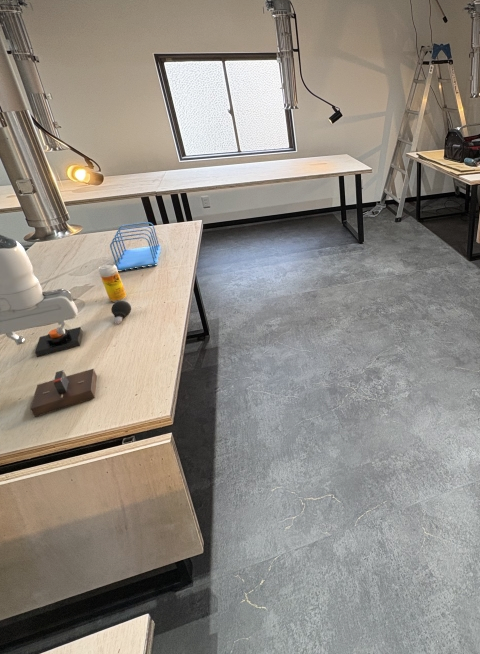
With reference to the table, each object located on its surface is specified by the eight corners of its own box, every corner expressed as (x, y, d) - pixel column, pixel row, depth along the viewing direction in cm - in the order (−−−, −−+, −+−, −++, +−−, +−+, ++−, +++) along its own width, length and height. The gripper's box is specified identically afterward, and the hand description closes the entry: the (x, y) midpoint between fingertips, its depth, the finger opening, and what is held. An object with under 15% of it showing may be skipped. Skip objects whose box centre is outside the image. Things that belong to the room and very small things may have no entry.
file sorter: (157, 266, 198) (148, 236, 191) (116, 273, 192) (105, 242, 185) (161, 247, 219) (153, 220, 212) (124, 253, 213) (115, 225, 206)
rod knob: (61, 382, 120) (55, 371, 118) (68, 380, 121) (63, 369, 119) (58, 394, 116) (52, 382, 114) (66, 391, 116) (60, 380, 114)
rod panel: (34, 417, 112) (29, 408, 111) (41, 392, 121) (36, 384, 119) (94, 398, 118) (90, 389, 117) (96, 376, 127) (93, 368, 125)
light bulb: (105, 318, 149) (111, 297, 155) (109, 328, 153) (114, 307, 160) (126, 318, 151) (131, 297, 158) (128, 328, 155) (133, 307, 162)
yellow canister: (119, 303, 167) (107, 270, 160) (106, 302, 168) (94, 269, 161) (130, 295, 172) (119, 263, 166) (117, 294, 173) (105, 262, 167)
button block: (37, 357, 136) (32, 347, 134) (42, 342, 144) (37, 332, 142) (80, 346, 141) (76, 336, 139) (82, 331, 149) (78, 322, 147)
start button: (49, 339, 139) (47, 335, 138) (51, 334, 142) (49, 330, 141) (62, 336, 140) (60, 332, 139) (64, 331, 143) (62, 327, 142)
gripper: (70, 282, 118) (86, 323, 124) (-22, 300, 109) (0, 342, 115) (67, 291, 113) (84, 333, 119) (-30, 311, 104) (-7, 355, 110)
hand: (42, 338), depth 117 cm, fingers open, 8 cm apart
